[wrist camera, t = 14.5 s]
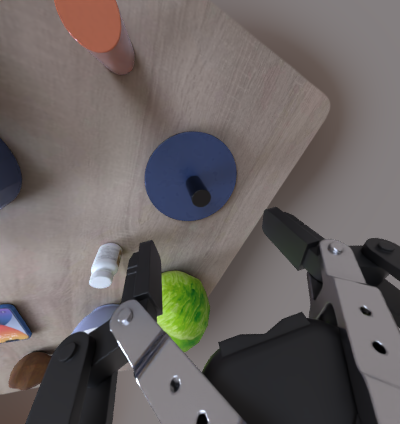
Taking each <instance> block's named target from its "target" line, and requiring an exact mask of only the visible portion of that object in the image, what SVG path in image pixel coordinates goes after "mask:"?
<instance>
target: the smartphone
mask: <svg viewBox="0 0 400 424" xmlns="http://www.w3.org/2000/svg"><path fill="white" fill-rule="evenodd" d="M31 335H32V333H31V331H30V330H29V328H28V327H27V325H26V324H25V322H24V321H23V319H22V317H21V316H20V314H19V313H18V311H17V310H16V308H15V307H14V306H13V305H10V304H3V305H0V343H5V342H12V341H18V340H25V339H29V338H30V337H31Z"/></svg>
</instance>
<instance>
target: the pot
mask: <svg viewBox="0 0 400 424" xmlns="http://www.w3.org/2000/svg"><path fill="white" fill-rule="evenodd" d="M21 185H22V175H21V171H20V167H19V165H18V163H17V160H16V159H15V157H14V155H13V154H12V152H11V151H10V149H9V148H8V147H7V145H6V144H5V143H4V142H3V141H2V140H1V138H0V209H2V208H3V207H5V206H6V205H7V204H8V203H10V202H11V201H13V200H14V199H15V198H16V197H17V195H18V194H19V192H20V189H21Z"/></svg>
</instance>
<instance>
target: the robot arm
mask: <svg viewBox="0 0 400 424" xmlns="http://www.w3.org/2000/svg"><path fill="white" fill-rule="evenodd" d="M262 229H263V232H264V233H265V235H266V236H267V237H268V238H269V239H270V240H271V241H272V242H273V243H274V245H275V246H276V247H277V248H278V249H279V250H280V251H281V252H282V254H283V255H284V256H285V257H286V258H287V259H288V260H289V261H290V262H291V263H292V265H293V266H294V267H295V268H296V269H297V270H298V271H299V270H301V269H306V270H307V271H308V272H307V280H308V288H309V296H310V311H309V318H306V317H305V315H304V314H303V313H302V312H300V313H298V314H295V315H292V316H289V317H287V318H284V319H282V320H281V321H280V322H279V323H277V324H276V325H275V326H274V327H273V328H272V329H270V330H269V331H268V332H267V333H265V334H246V335H245V334H242V335H237V336H235V337H232V338H229V339H226V340H224V341H221V342H218V343H219V347H220V348H219V349H218V350H217V351H216V352H215V353H214V354H213V355H212V356H211V357H210V359H209V360H208V362H207V363H206V365H205V367H204V369H203V371H202V372H201V371H200V370H199V369H198V368H197V367H196V365H195V364H194V363H193V362H192V361H191V360H190V359H189V358H188V356H187V355H186V354H185V353H184V352H183V351H182V350H181V349H180V347H179V346H178V345H177V344H176V343H175V342H174V341H173V339H172V338H171V337H170V336H169V335H168V334H167V333H166V332H165V331H164V330H163V329H162V328H161V327H160V326H159V325H158V323H157V316H160V315H163V305H162V274H161V259H160V256H159V253H158V251H157V249H156V247H155V244H154V242H153V240H150V241H146V242H142V243H140V246H139V252H136V253H133V255H132V257H131V258H130V260H129V263H128V270H127V276H126V280H125V285H124V290H123V296H122V301H121V304H120V305H119V306H118V307H117V308H116V310H115V311H114V312H113V314H112V316H111V319H109V320H108V321H107V322H105V323H104V324H102V325H101V326H99V327H98V328H96V329H95V330H93V331H92V332H90V333H89V334H87V333H86V332H83V331H79V332H75V333H73V334H71V335H70V336H68V337H67V338H66V339H65V340H64V341H63V342H62V343H61V344H60V345H59V346H58V347H57V348H56V350H55V351H54V353H53V355H52V357H51V359H50V361H49V364H48V366H47V369H46V372H45V374H44V377H43V379H42V382H41V384H40V387H39V390H38V392H37V395H36V397H35V400H34V403H33V405H32V408H31V411H30V413H29V415H28V418H27V421H26V423H25V424H112V420H113V411H114V402H115V392H116V383H117V374H118V369H120V368H121V367H122V366H124V365H125V364H126V363H127V362H130V364H131V365H132V367H133V369H134V377H135V379H136V381H137V383H138V385H139V387H140V388H141V390H142V391H143V393H144V395H145V397H146V398H147V400H148V402H149V404H150V405H151V407H152V409H153V411H154V412H155V414H156V416H157V418H158V419H159V421H160V423H161V424H400V331H399V328H400V290H399V289H397V288H396V287H395V286H394V285H392V284H391V283H390V282H388V281H387V280H386V279H385V278H386V277H387V276H388V275H389V274H391V275H392V276H393V277H395V278H396V279H397V280H399V281H400V246H398V245H396V244H394V243H392V242H390V241H387V240H384V239H378V238H371V239H368V240H367V241H366V242H365V244H364V245H363V246H347V245H346V244H344V243H342V242H340V241H337V240H333V239H324V238H323V237H321V236H320V235H319V234H317V233H316V232H315V231H313V230H312V229H311V228H309V227H308V226H307V225H304V223H303V222H301V221H299V219H297V218H296V217H295V216H293V215H291V214H289V213H286V212H282V211H281V210H280V209H279V208H277V207H273V208H270V209H266V210H264V215H263V225H262ZM398 327H399V328H398Z"/></svg>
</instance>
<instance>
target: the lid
mask: <svg viewBox="0 0 400 424" xmlns="http://www.w3.org/2000/svg"><path fill="white" fill-rule="evenodd" d="M236 175H237V172H236V164H235V160H234V158H233V155H232V154H231V152H230V150H229V149H228V147H227V146H226V145H225V144H224V143H223V142H222V141H220V140H219V139H218V138H216V137H214V136H212V135H209V134H207V133H203V132H194V131H190V132H183V133H179V134H176V135H174V136H172V137H170V138H168V139H167V140H165V141H164V142H162V143H161V144H160V145H159V146H158V147H157V148H156V149H155V151H154V152H153V153H152V155H151V157H150V159H149V161H148V163H147V167H146V171H145V187H146V191H147V194H148V196H149V199H150V200H151V202H152V203H153V205H154V206H155V207H156V208H157V209H158V210H159V211H160V212H162V213H163V214H165V215H166V216H168V217H170V218H173V219H177V220H182V221H194V220H199V219H203V218H206V217H208V216H210V215H212V214H214V213H215V212H216V211H218V210H219V209H220V208H221V207H222V206H223V205H224V204H225V203H226V202H227V201H228V199H229V198H230V196H231V194H232V192H233V190H234V187H235V183H236Z"/></svg>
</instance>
